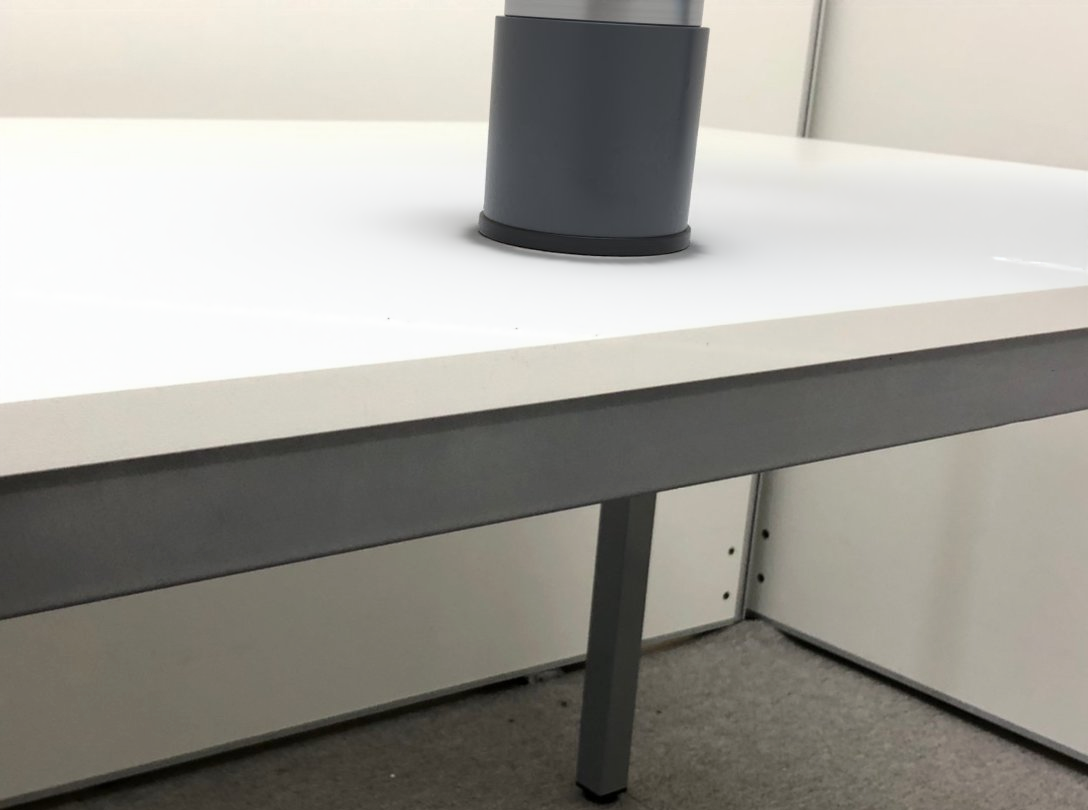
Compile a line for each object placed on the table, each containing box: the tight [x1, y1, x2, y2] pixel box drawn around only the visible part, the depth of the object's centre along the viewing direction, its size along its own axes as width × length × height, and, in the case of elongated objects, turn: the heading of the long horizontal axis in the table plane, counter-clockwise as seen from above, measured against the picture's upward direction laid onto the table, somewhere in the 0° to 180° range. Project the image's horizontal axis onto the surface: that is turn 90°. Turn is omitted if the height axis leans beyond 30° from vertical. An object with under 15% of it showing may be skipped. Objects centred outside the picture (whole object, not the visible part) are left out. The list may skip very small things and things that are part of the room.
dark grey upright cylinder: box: [477, 0, 711, 257], centre depth 63 cm, size 10×10×12 cm
